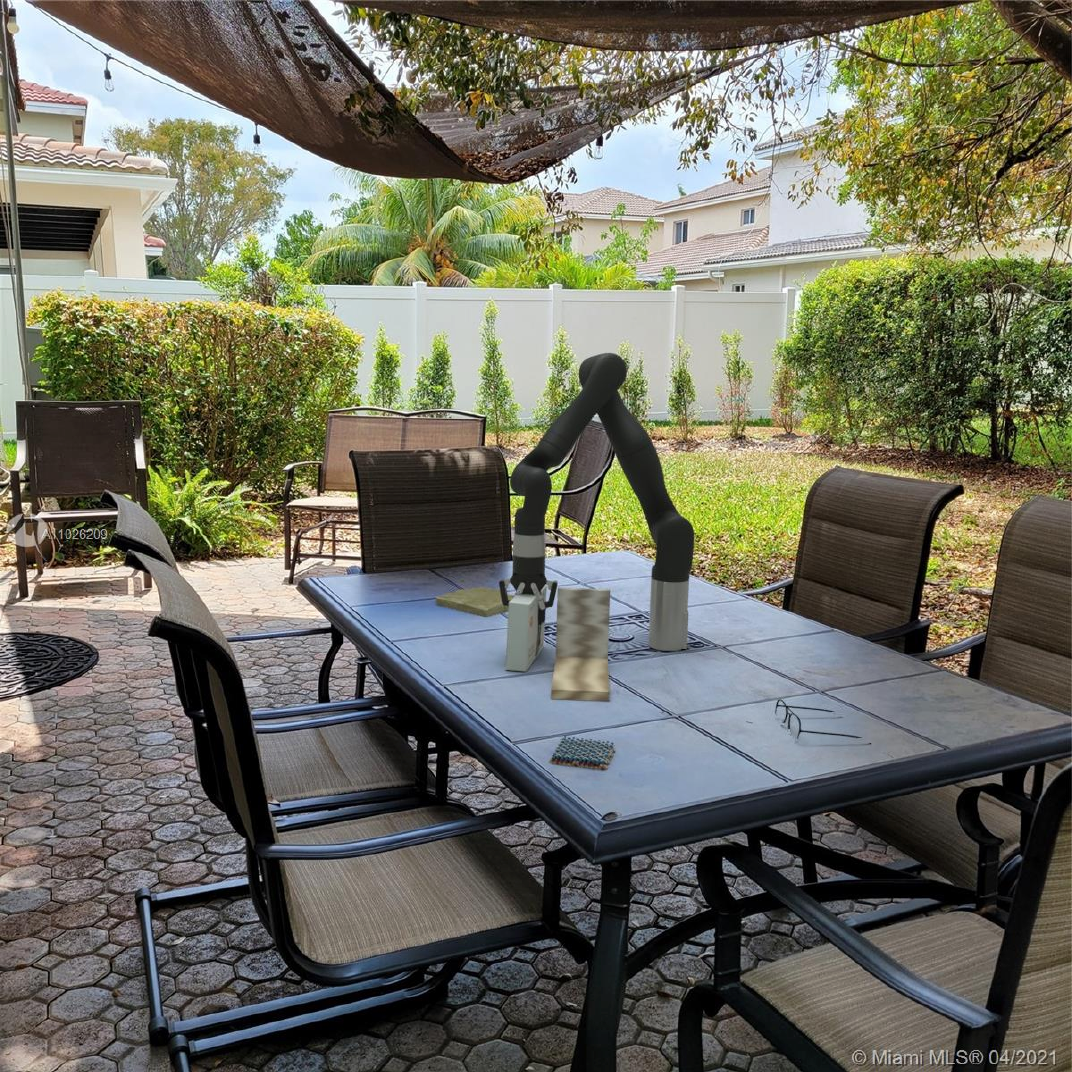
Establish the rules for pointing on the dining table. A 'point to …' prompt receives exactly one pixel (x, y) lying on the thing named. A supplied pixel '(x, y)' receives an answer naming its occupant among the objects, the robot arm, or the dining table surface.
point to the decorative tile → (475, 601)
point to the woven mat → (583, 753)
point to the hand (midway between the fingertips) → (527, 623)
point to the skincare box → (524, 631)
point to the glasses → (800, 721)
